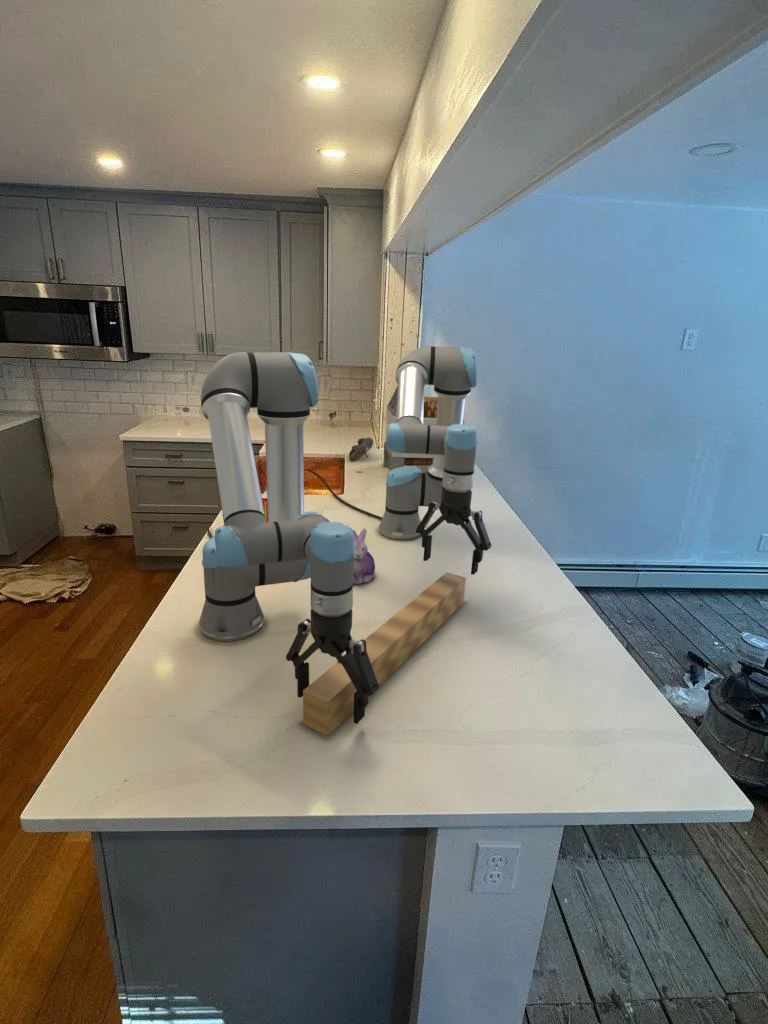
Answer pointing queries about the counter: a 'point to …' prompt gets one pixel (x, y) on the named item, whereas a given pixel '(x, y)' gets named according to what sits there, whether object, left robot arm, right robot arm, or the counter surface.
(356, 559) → the figurine
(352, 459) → the fossil
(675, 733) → the counter surface
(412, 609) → the post
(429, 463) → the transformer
